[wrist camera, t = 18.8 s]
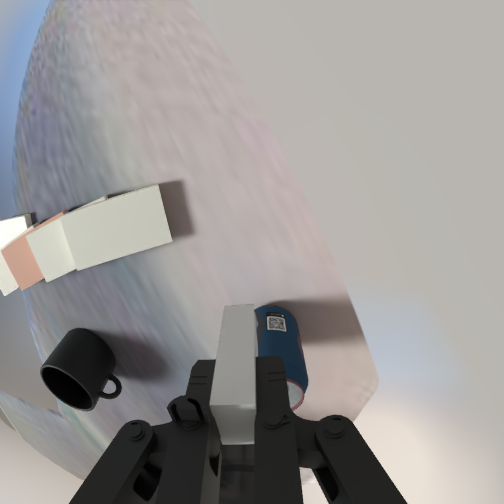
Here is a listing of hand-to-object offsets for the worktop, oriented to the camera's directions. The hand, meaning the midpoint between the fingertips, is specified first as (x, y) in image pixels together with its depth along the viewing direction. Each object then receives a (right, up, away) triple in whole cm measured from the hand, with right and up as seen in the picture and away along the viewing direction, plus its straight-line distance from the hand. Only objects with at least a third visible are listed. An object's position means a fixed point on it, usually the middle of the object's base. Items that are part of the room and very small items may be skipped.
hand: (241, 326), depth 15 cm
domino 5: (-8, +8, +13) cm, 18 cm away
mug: (-24, -12, +23) cm, 35 cm away
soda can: (+3, -5, +20) cm, 21 cm away
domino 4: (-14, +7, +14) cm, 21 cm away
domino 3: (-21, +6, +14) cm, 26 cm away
